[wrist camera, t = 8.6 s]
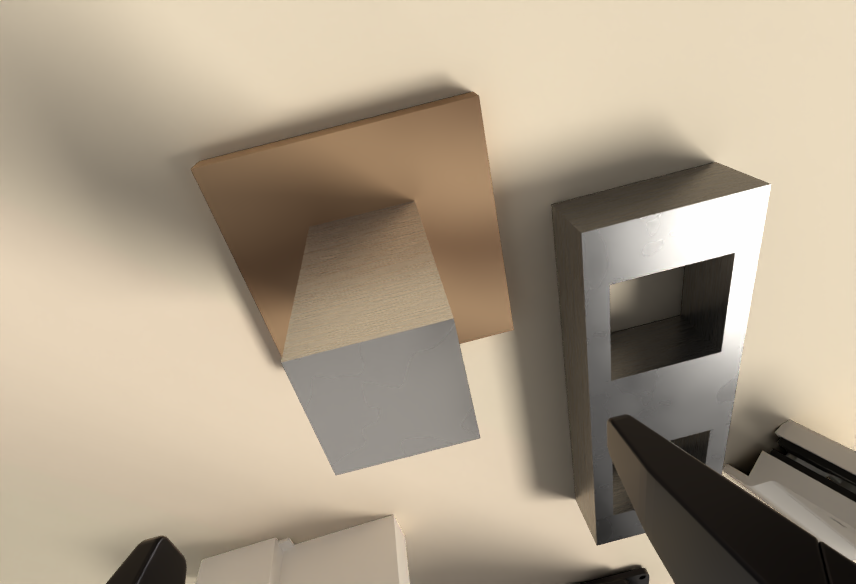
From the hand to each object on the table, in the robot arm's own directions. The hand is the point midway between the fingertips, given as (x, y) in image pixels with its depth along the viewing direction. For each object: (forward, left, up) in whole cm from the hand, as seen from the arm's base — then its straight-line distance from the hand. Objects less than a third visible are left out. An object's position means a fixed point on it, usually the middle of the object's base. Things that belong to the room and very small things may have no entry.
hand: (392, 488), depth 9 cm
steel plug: (0, 0, -11) cm, 11 cm away
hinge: (-25, -25, -12) cm, 37 cm away
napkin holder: (-18, +10, -12) cm, 23 cm away
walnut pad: (0, 0, -12) cm, 12 cm away
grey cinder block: (-10, -11, -12) cm, 19 cm away
